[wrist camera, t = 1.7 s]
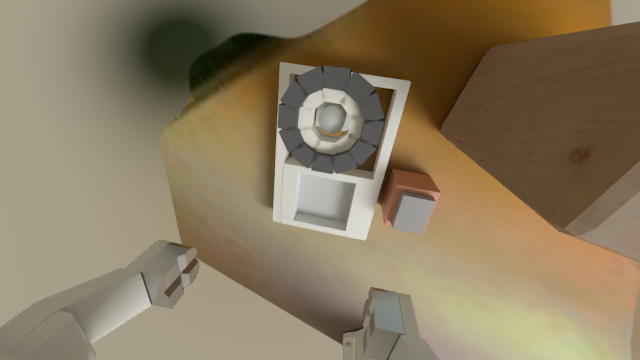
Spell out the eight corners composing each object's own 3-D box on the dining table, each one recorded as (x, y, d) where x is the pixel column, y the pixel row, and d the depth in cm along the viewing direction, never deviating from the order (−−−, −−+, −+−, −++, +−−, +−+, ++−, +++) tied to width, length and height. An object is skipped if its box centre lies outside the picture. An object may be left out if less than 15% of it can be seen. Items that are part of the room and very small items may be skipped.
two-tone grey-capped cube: (415, 211, 34) (426, 239, 28) (381, 204, 34) (385, 231, 29) (429, 175, 31) (444, 198, 26) (392, 168, 31) (398, 189, 26)
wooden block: (434, 131, 28) (556, 237, 11) (487, 42, 24) (854, -32, 6) (509, 160, 29) (753, 313, 11) (576, 77, 24) (1196, 104, 6)
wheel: (368, 169, 23) (369, 181, 21) (284, 153, 24) (275, 163, 22) (391, 74, 19) (396, 75, 17) (290, 59, 20) (280, 58, 18)
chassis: (365, 229, 36) (366, 275, 28) (277, 211, 38) (255, 250, 30) (407, 80, 26) (426, 85, 18) (286, 62, 28) (256, 60, 20)
